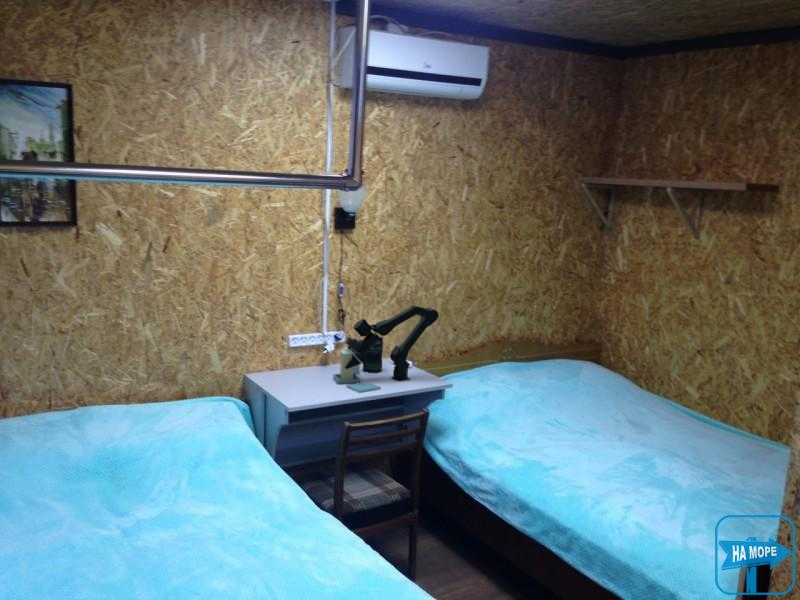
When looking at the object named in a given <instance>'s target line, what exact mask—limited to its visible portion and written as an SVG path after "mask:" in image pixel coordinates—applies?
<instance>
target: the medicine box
mask: <svg viewBox="0 0 800 600" xmlns="http://www.w3.org/2000/svg"><path fill="white" fill-rule="evenodd" d="M360 365H361V364H359V365H356V366H354V367H353V374H356V375H359V374H360V367H361V366H360ZM358 373H359V374H358Z"/></svg>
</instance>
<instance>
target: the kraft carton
mask: <svg viewBox="0 0 800 600" xmlns="http://www.w3.org/2000/svg"><path fill="white" fill-rule="evenodd" d="M352 354H353V355H354V353H353V352H352V350H349V349H348V350H347V349H346V350H340V367H339V369H340V371H339V372H340V373H339V374H340V379H341V380H347V379H353V367H351V368H348V369H346V368H345V367H346V365H347V364H348V363H349V361H350V360H351V359H352Z"/></svg>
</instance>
